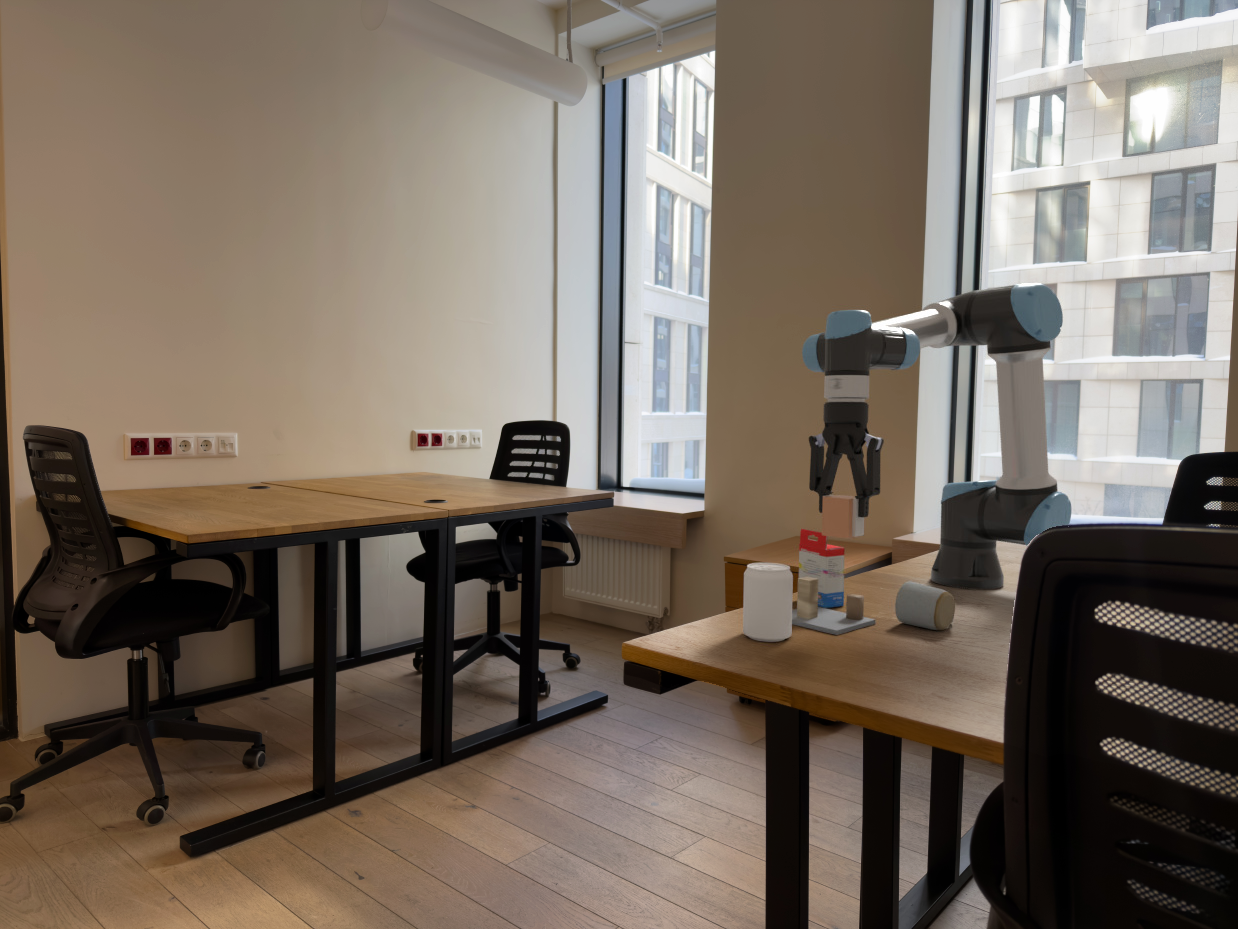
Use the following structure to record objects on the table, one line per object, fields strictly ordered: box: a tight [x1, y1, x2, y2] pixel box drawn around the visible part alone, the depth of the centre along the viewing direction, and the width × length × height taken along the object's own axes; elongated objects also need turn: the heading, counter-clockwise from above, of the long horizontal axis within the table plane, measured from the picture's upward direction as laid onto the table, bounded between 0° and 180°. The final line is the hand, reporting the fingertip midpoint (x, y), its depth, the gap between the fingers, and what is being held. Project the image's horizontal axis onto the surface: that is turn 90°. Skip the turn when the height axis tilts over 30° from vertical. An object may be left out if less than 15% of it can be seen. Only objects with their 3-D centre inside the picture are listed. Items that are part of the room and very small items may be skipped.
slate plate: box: [792, 593, 876, 636], centre depth 148 cm, size 12×14×5 cm
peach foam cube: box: [821, 494, 866, 540], centre depth 143 cm, size 5×5×7 cm
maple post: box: [796, 577, 819, 619], centre depth 148 cm, size 3×3×8 cm
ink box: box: [798, 528, 845, 609], centre depth 162 cm, size 8×5×15 cm, turn 27°
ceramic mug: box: [894, 580, 956, 631], centre depth 146 cm, size 11×8×8 cm
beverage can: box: [742, 562, 794, 643], centre depth 137 cm, size 8×8×12 cm
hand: (842, 533), depth 143 cm, fingers closed on peach foam cube, 5 cm apart
